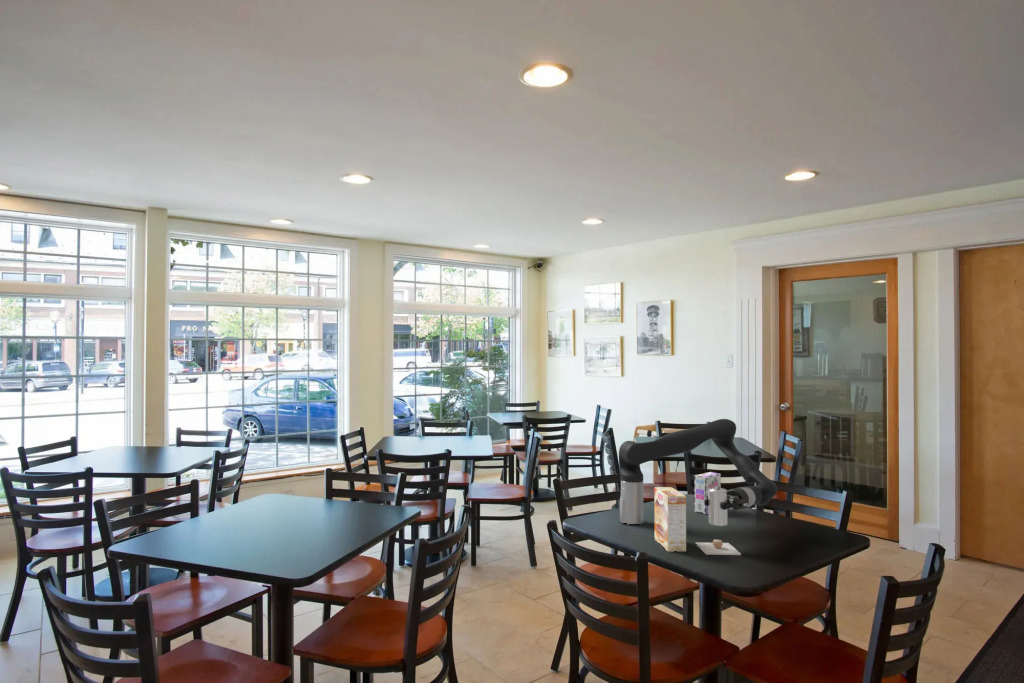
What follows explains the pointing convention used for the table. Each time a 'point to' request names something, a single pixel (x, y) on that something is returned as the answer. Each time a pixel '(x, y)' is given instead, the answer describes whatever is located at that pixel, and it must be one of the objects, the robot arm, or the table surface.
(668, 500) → the coffeecake box
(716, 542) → the terracotta bowl
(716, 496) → the faceted metal canister
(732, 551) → the white mat
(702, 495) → the candy box
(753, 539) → the table surface
